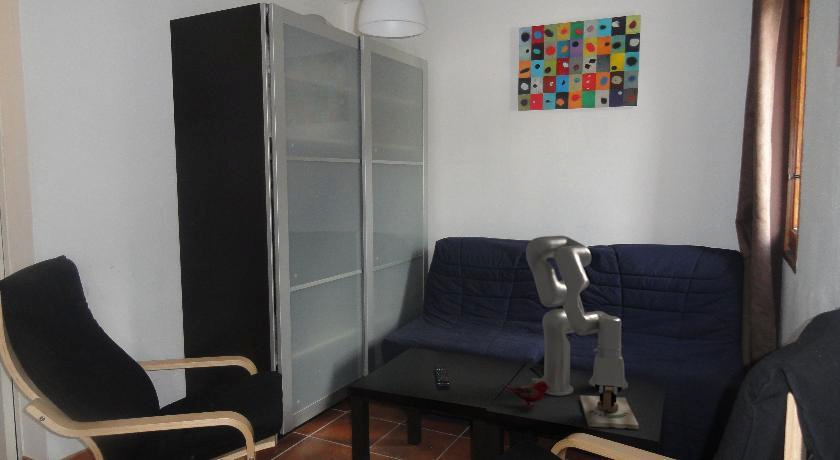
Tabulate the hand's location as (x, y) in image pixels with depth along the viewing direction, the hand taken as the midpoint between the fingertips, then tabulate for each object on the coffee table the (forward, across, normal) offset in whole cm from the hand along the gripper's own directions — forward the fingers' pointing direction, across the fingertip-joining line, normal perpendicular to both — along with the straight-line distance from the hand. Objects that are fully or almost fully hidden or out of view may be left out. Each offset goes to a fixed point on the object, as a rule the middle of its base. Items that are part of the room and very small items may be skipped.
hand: (607, 403), depth 207 cm
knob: (+2, 0, -2) cm, 2 cm away
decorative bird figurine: (+4, -28, 0) cm, 29 cm away
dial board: (+4, 0, 0) cm, 4 cm away
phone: (+4, -24, +38) cm, 45 cm away
